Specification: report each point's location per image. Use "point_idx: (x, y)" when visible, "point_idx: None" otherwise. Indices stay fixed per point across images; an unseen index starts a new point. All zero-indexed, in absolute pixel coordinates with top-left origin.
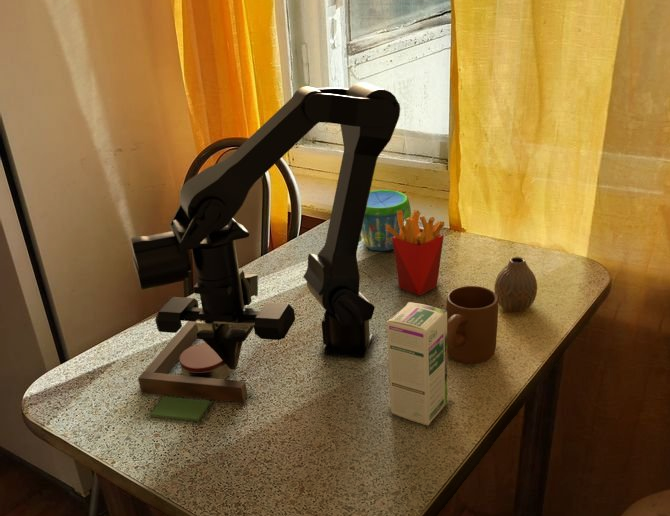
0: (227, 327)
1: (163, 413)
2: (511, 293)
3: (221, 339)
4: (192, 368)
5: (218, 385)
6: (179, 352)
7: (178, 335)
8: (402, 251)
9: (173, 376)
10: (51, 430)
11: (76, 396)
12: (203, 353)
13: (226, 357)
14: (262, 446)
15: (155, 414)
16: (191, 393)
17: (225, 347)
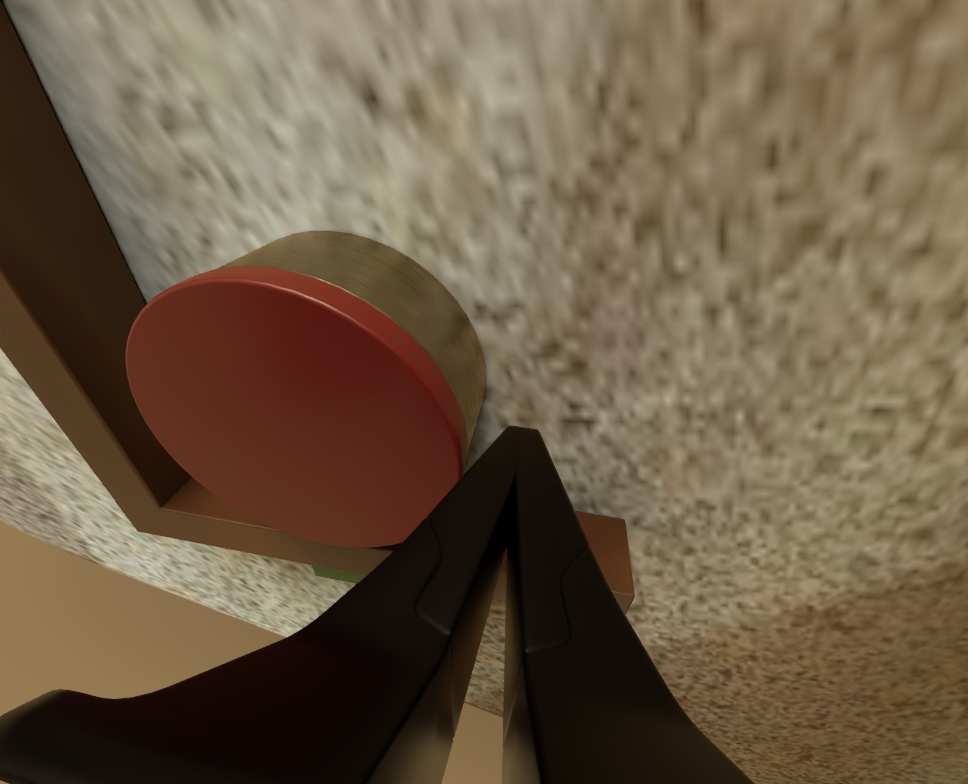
0: (409, 757)
1: (352, 577)
2: None
3: (437, 768)
4: (320, 539)
5: (504, 601)
6: (67, 233)
7: None
8: None
9: (266, 538)
10: (131, 576)
11: (29, 480)
12: (281, 433)
13: (494, 587)
14: (704, 678)
15: (331, 578)
16: None
17: (473, 644)
